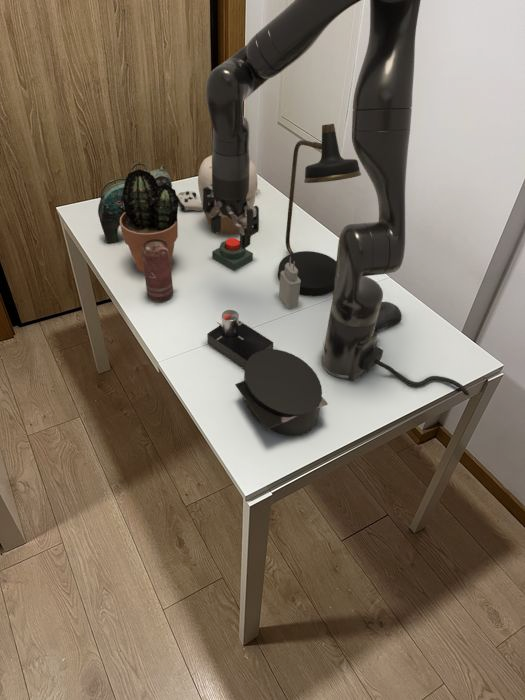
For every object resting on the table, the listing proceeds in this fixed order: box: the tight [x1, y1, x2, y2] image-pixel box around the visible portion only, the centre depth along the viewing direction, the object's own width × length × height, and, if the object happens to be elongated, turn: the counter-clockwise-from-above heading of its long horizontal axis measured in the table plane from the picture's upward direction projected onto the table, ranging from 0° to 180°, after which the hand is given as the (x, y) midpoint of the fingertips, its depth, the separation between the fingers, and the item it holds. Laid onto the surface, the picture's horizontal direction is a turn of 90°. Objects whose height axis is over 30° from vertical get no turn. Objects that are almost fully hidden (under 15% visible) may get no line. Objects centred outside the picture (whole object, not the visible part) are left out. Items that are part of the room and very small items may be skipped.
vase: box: [197, 154, 258, 236], centre depth 143 cm, size 16×16×23 cm
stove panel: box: [206, 320, 274, 370], centre depth 115 cm, size 13×8×3 cm, turn 48°
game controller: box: [176, 190, 203, 212], centre depth 158 cm, size 10×5×6 cm
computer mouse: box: [374, 301, 402, 345], centre depth 122 cm, size 10×15×4 cm
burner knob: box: [221, 309, 240, 337], centre depth 113 cm, size 4×4×5 cm
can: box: [142, 239, 174, 303], centre depth 123 cm, size 6×6×14 cm
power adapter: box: [278, 257, 301, 309], centre depth 124 cm, size 3×5×12 cm, turn 24°
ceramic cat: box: [97, 162, 173, 244], centre depth 139 cm, size 20×6×20 cm, turn 115°
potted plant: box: [119, 168, 179, 273], centre depth 128 cm, size 14×14×25 cm
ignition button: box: [225, 237, 240, 251], centre depth 136 cm, size 4×4×2 cm
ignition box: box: [211, 239, 254, 272], centre depth 138 cm, size 8×7×4 cm
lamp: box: [277, 123, 362, 297], centre depth 123 cm, size 16×22×38 cm
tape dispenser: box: [234, 348, 329, 437], centre depth 103 cm, size 14×18×8 cm
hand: (230, 239), depth 118 cm, fingers open, 8 cm apart
